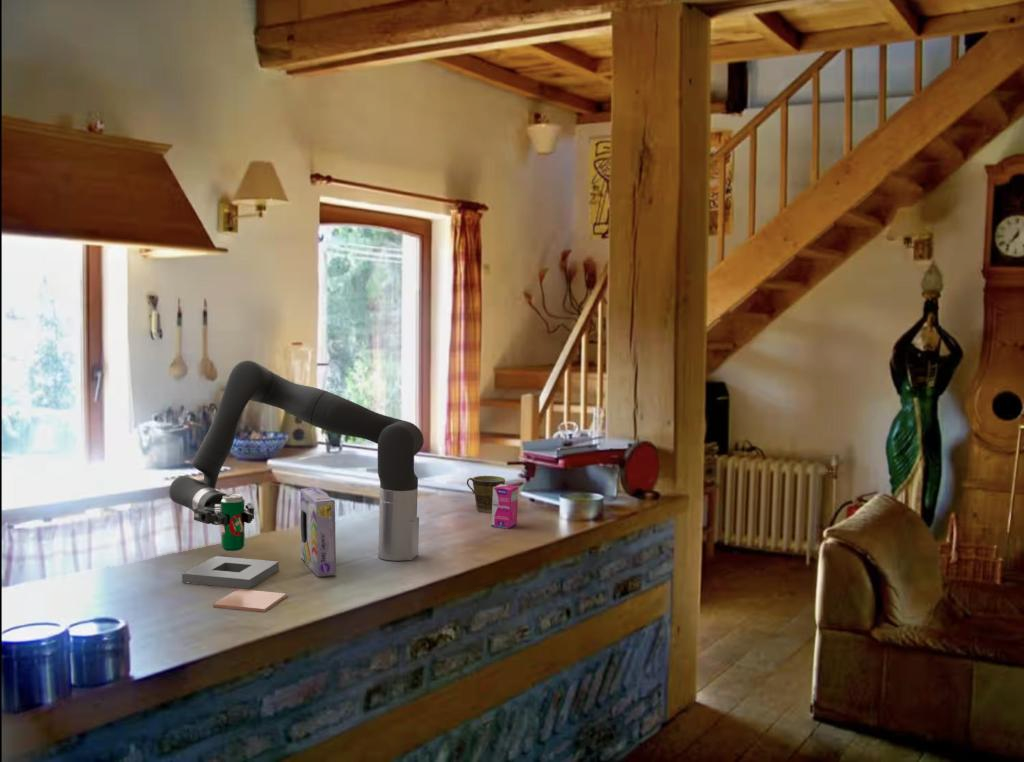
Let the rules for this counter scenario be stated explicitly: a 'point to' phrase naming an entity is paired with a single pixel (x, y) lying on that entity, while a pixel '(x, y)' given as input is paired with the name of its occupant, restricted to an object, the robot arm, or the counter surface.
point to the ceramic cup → (485, 491)
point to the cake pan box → (318, 531)
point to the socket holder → (231, 572)
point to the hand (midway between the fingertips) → (237, 519)
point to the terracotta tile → (250, 600)
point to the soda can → (233, 522)
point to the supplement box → (504, 506)
